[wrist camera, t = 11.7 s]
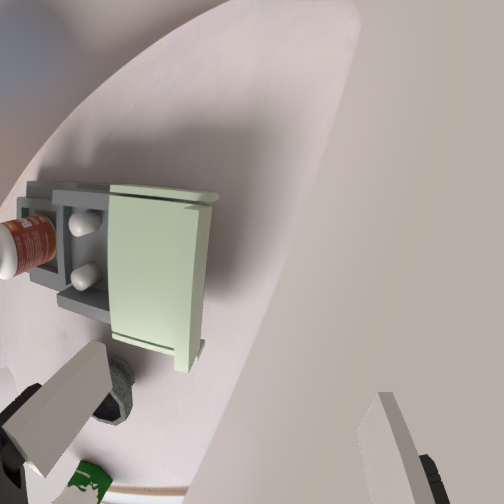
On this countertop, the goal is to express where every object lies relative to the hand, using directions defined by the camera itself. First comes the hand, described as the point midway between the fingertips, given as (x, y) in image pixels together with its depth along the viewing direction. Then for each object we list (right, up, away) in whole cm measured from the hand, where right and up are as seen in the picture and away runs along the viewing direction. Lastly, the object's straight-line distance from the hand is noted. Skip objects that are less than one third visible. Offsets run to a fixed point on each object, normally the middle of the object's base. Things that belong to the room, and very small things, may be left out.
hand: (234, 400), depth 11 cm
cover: (-7, +5, +15) cm, 17 cm away
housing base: (-18, +7, +19) cm, 27 cm away
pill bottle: (-26, +8, +18) cm, 32 cm away
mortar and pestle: (-19, -11, +24) cm, 33 cm away
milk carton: (-39, -50, +35) cm, 73 cm away
